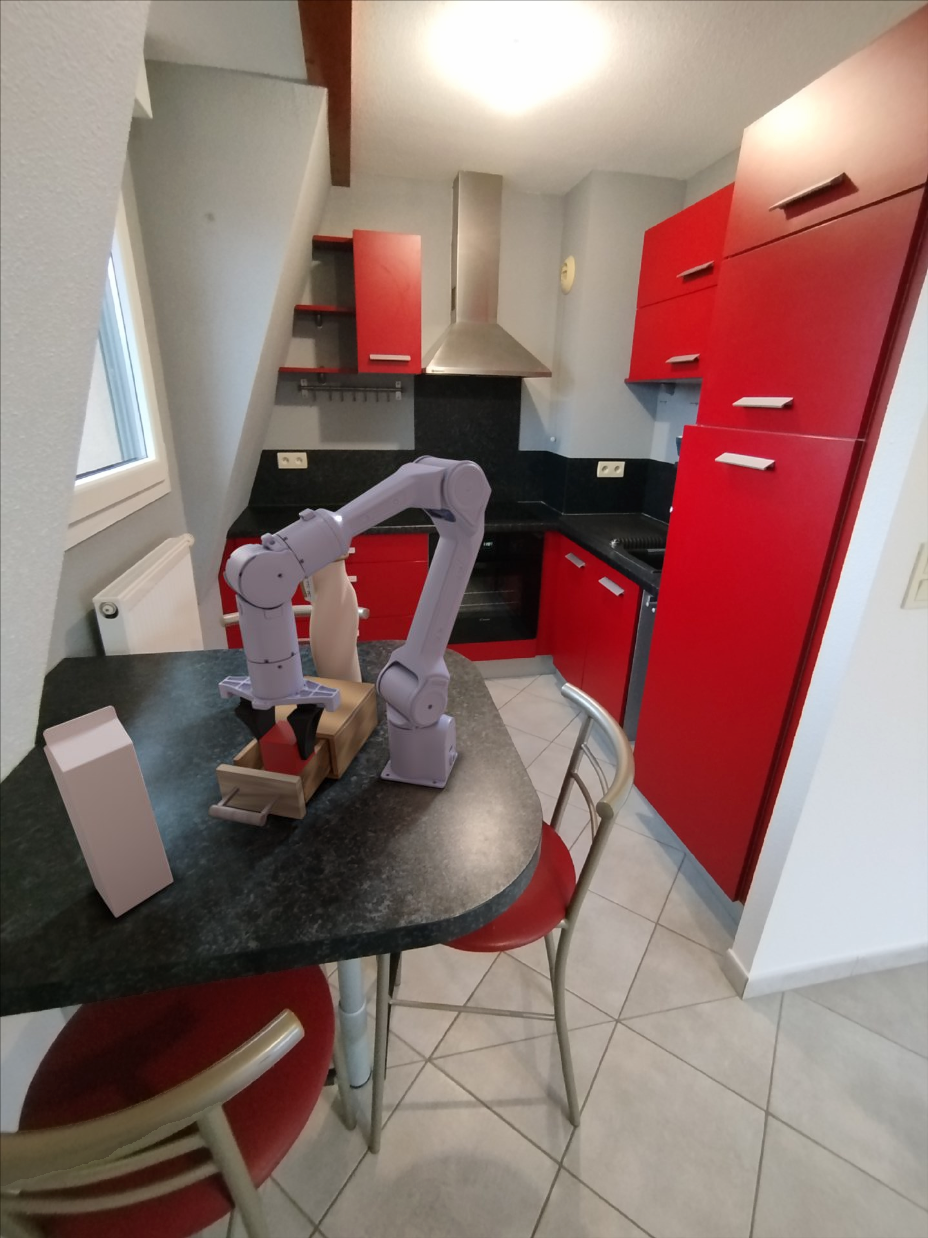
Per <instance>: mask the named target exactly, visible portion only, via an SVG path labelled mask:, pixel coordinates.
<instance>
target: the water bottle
mask: <svg viewBox="0 0 928 1238" xmlns="http://www.w3.org/2000/svg"><path fill="white" fill-rule="evenodd" d="M349 556H350V553H349V552H348V553H347V554H345V555H343V556H342V557H340V558H338V559H337V560H335V561H334V562H332V563H330V564H329V565H327V566H326V567H324V568H322V569H321V570H319V571H317V572H316V573H314V574H313V575H311V576H309V577H308V578H306V579H305V580H303V581H301V582H300V583H299V585H300V590H301V594H302V595H303V598H304V601H307V602H309V603H310V605H311V612H310V618H309V643H310V645H309V646H310V653H311V656H312V660H313V661H312V662H313V663H314V667H315V670H316V674H317V676H318V677H319V678H327V679H336V680H345V681H353V682H362V681H363V680H362V674H361V673H362V672H361V668H360V661H359V654H358V648H357V642H358V641H357V640H358V633H359V623H360V613H359V603H358V598H357V594H356V591H355V588H354V587H353V585H352V583H351V581H350V579H349V576H348V574H347V571H346V563H345V560H346V559H348V558H349ZM362 683H363V682H362Z"/></svg>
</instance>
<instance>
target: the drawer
mask: <svg viewBox="0 0 928 1238" xmlns="http://www.w3.org/2000/svg"><path fill="white" fill-rule="evenodd" d="M314 747H315V755H314V756H313V758H312V759H311V760H310V761H309V763H308V764H307V765H306V766H305V768H304V769H303V770H302V771H301V773H300V774H299V775H298V776H295V775H288V774H282V773H275V772H269V771H265V769H264V763H263V758H262V753H261V747H260V745H259V743H258V741H257V740H256V738H255V737H254V738H253V740H251V741H250V742H249V743H248V744H247V745H246V746H245V747H244V748H243V749H242V750H241V751H240V752H239V753H238V754H237V755H235V757H234V758H233V759H232V762H233V765H231V764H225V763H221V764H220V765H219V766H217V768H215V773H216V777H217V782H218V787H219V789H220V795H221V800H220V801H219V802H218V803H217V804H212V805H211V806H209V809H208V817H210V818H214V819H220V820H225V821H231V822H235V823H236V822H237V823H241V824H247V825H251V826H258V827H263V826H264V825H266V822H267V817H268V815H269V814H271V815H276V816H279V817H280V816H281V817H287V818H291V819H297V820H303V818H304V817H305V816H306V814H307V808H306V804H307V803H308V801H309V800H310V799H311V797H312V796H313V795H314V793H315V792H316V791H317V789H318V788H319V786H321V784H322V783H323V781H324V780H325V778H327V777H326V776H327V774H328V773H329V772H330V770H331V769H332V768H333V766H332V758H331V750H330V742H329V739H327V738H320V737H316V738H315V746H314Z"/></svg>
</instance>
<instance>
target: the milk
mask: <svg viewBox="0 0 928 1238" xmlns="http://www.w3.org/2000/svg"><path fill="white" fill-rule="evenodd" d="M42 733H43V734H42V735H43V738H44V741H45V744H46V745H45V746H43V751H44V753H45V756H46V758H47V761H48V764H49V766H50V770H51V772H52V774H53V778H54V780H55V783H56V785H57V788H58V791H59V794H60V797H61V799H62V801H63V804H64V807H65V809H66V812H67V814H68V817H69V820H70V823H71V825H72V828H73V831H74V833H75V837H76V840H77V841H78V844H79V847H80V849H81V852H82V854H83V857H84V860H85V864H86V866H87V868H88V871H89V873H90V877H91V879H92V882H93V885H94V887H95V889H96V890H97V892H98V893H99V895H100V897H101V898H102V900H103V902H104V903H105V904H106V905H107V907H108V908H109V910H110V912H111V913H112V914H113V916H114V917H115V918H116V919H117V918H119V917H120V916H122V915H123V914H125V913H127V912H128V911H130V910H131V909H133V908H134V907H136V906H137V905H139V904H141V903H142V902H144V901H145V900H147V899H149V898H151V896H153V895H155V894H156V893H158V892H159V891H162V890H163V889H164V888H166V887H168V886H169V885H170V884H173V882H174V877H173V875H172V871H171V868H170V864H169V860H168V856H167V853H166V851H165V847H164V844H163V841H162V837H161V834H160V829H159V827H158V824H157V820H156V817H155V814H154V810H153V806H152V803H151V800H150V797H149V793H148V790H147V786H146V782H145V780H144V777H143V773H142V770H141V766H140V763H139V758H138V756H137V752H136V750H135V746H134V743H133V740H132V739H131V737H130V735H129V733H127V731H126V730H125V727H124V725H123V724H122V723H121V721H120V720H119V718H118V716H117V712H116V709H115V707H114V706H113V705H108V706H106V707H102V708H99V709H97V710H95V711H92V712H89V713H87V714H84V715H81V716H79V717H75V718H73V719H71V720H68V721H64V722H63V723H60V724H57V725H53V726H52V727H49V728H46V729H44V730H43V732H42Z"/></svg>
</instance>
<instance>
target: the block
mask: <svg viewBox="0 0 928 1238" xmlns="http://www.w3.org/2000/svg"><path fill="white" fill-rule="evenodd" d="M259 742H260V747H261V753H262V758H263V763H264V769H265V771H269V772H275V773H282V774H288V775H295V776H298V775H299V774H300V773H301V771H302V770H303V769H304V768H305V766H306V765H307V764H308V763H309V761H310V760H311V759H312V758H313V756H314V755H315V747H314V752H313V753H312V754H311V756H310V757H309V758H308V759H307V760H301V757H300V755H299V751H298V746H297V741H296V737H295V734H294V732H293V729H292V727H291V726H290V724H289V722H288V721H282V720H279V721H278V722H277V723H276V724H275V725H274V726H273V727H272V728H271V729H270V730H269V731H268V732H267V733H266V734H265V735H264V736H263V737H262V738H261V739H260V740H259Z"/></svg>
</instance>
